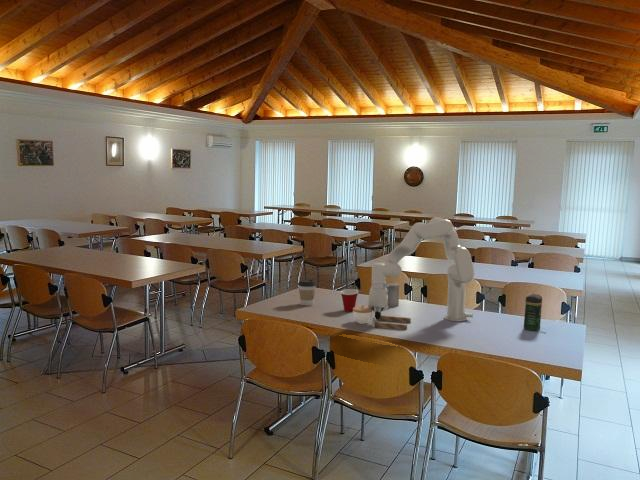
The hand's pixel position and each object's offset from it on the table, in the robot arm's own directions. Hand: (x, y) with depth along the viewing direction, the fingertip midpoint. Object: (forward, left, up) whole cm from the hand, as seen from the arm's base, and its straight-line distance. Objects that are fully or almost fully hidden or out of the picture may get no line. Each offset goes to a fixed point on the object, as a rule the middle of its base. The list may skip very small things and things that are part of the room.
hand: (377, 318), depth 302 cm
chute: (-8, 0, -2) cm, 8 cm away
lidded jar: (+8, +1, -3) cm, 9 cm away
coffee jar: (-80, -17, -3) cm, 82 cm away
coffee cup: (+49, -27, -3) cm, 56 cm away
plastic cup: (+21, -21, -3) cm, 30 cm away
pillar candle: (0, -43, -3) cm, 43 cm away
